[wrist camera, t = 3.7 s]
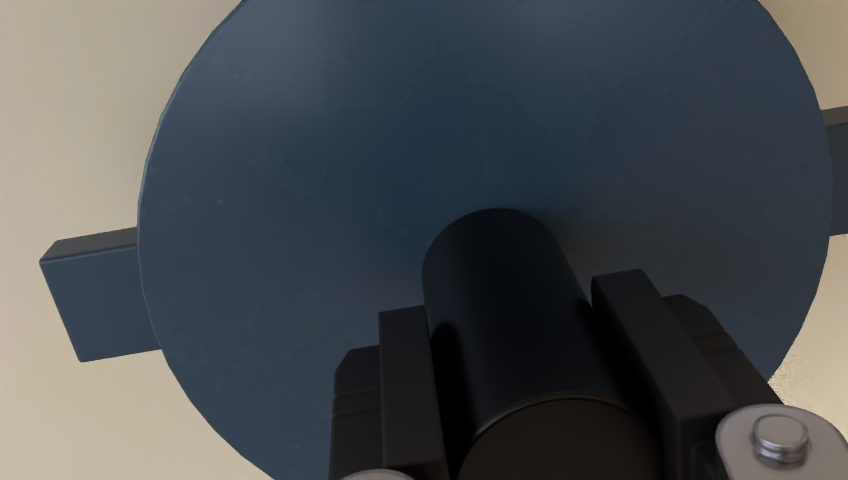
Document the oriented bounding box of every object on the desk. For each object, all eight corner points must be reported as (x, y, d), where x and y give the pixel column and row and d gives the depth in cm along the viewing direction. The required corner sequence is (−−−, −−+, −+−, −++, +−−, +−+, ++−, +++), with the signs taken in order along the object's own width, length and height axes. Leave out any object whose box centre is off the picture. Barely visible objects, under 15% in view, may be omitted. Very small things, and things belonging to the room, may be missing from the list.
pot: (71, -29, 19) (-86, 25, 12) (761, -147, 19) (977, -158, 12) (202, 364, 24) (138, 555, 17) (750, 271, 24) (901, 426, 17)
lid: (53, -36, 13) (-229, 45, 7) (821, -168, 13) (1235, -206, 7) (246, 534, 18) (187, 865, 12) (787, 443, 18) (1000, 729, 12)
